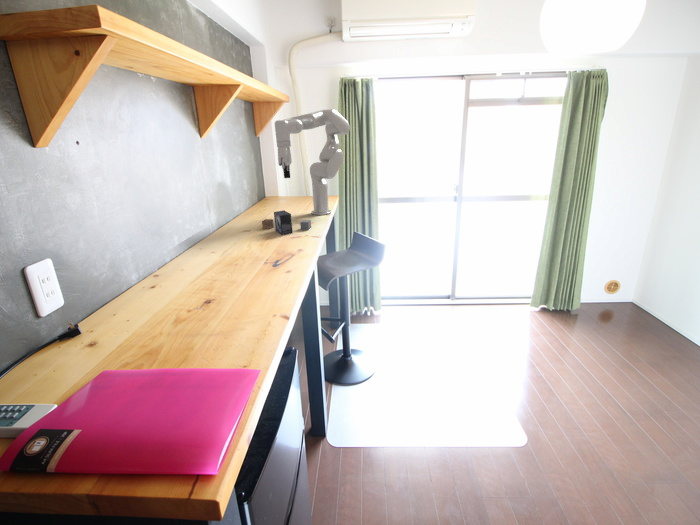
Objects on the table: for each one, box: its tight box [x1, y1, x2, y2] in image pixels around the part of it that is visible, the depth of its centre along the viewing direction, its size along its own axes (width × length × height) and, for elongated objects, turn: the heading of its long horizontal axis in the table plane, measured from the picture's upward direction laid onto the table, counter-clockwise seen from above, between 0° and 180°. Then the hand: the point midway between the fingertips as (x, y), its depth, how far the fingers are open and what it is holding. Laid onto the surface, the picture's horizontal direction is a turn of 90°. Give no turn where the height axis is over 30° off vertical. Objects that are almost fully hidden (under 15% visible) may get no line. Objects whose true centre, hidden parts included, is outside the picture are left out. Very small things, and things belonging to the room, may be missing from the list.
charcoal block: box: [299, 219, 312, 231], centre depth 200 cm, size 4×4×4 cm
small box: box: [273, 209, 294, 236], centre depth 195 cm, size 11×6×10 cm, turn 29°
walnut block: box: [261, 218, 274, 230], centre depth 204 cm, size 4×4×4 cm
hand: (287, 177), depth 210 cm, fingers closed
